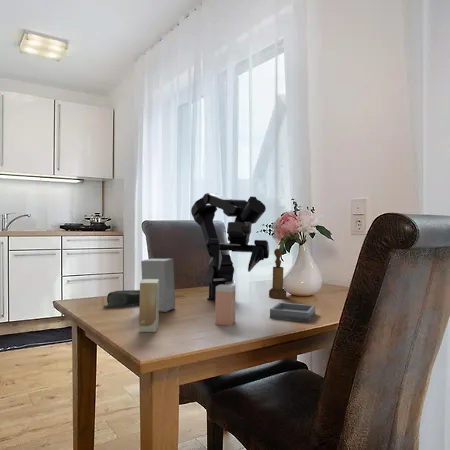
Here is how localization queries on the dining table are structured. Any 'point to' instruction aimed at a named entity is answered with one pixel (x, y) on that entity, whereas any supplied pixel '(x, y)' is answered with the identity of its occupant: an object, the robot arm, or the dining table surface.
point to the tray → (292, 312)
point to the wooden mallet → (277, 278)
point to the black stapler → (123, 298)
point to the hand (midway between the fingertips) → (233, 270)
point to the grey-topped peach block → (225, 304)
